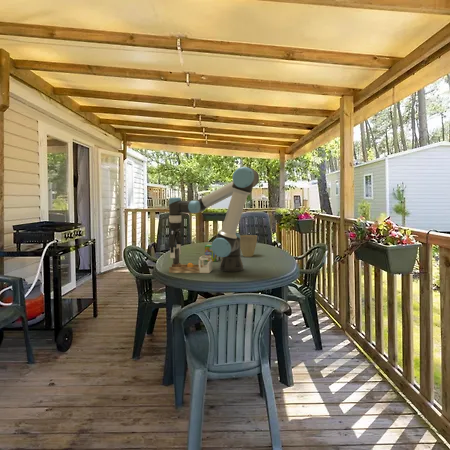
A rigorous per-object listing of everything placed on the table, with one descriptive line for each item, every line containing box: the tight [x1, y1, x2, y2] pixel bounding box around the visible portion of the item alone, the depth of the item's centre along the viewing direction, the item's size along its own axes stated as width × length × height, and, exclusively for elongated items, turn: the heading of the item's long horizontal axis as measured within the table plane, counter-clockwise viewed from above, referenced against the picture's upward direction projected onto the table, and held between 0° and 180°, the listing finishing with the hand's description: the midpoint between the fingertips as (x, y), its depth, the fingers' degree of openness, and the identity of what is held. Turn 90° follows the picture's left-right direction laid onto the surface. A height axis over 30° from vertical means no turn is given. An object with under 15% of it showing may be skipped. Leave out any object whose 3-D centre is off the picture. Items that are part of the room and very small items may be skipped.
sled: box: [171, 247, 182, 267], centre depth 223 cm, size 4×6×12 cm, turn 172°
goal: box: [198, 255, 213, 274], centre depth 220 cm, size 6×10×9 cm, turn 172°
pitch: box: [168, 263, 203, 274], centre depth 222 cm, size 19×12×3 cm, turn 82°
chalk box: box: [204, 240, 221, 263], centre depth 259 cm, size 9×9×15 cm
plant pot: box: [240, 234, 258, 258], centre depth 276 cm, size 15×15×16 cm
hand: (175, 256), depth 222 cm, fingers open, 13 cm apart
